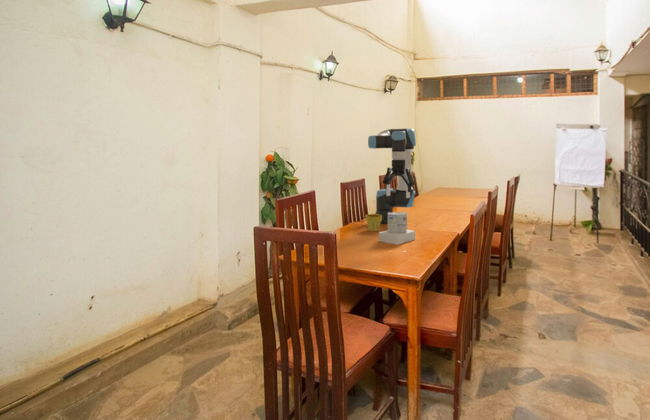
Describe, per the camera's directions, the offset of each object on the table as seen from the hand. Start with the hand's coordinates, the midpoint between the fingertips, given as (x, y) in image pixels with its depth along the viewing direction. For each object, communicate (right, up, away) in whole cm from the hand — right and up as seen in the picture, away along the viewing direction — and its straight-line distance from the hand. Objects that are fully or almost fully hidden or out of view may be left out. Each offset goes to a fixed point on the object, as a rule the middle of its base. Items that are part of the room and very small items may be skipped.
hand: (398, 196), depth 228 cm
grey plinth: (0, -25, +2) cm, 25 cm away
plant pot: (-10, -21, +29) cm, 38 cm away
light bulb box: (0, -20, +1) cm, 20 cm away
